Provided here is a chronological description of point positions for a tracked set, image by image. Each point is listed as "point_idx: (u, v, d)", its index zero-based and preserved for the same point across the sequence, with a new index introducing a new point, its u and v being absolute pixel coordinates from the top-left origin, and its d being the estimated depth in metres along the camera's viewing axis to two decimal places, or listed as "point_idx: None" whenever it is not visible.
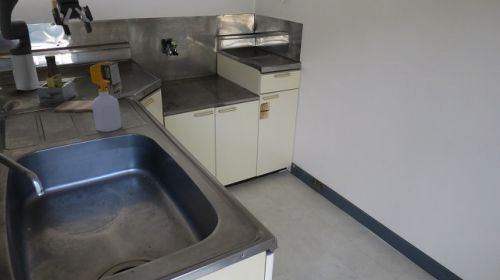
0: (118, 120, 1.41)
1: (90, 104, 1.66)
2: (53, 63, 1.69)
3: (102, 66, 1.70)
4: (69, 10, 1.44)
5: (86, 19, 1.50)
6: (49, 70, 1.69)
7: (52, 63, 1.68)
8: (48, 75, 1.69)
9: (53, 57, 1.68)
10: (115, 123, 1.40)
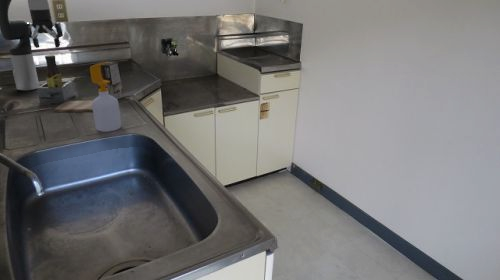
0: (118, 120, 1.41)
1: (90, 104, 1.66)
2: (53, 63, 1.69)
3: (102, 66, 1.70)
4: (37, 27, 1.61)
5: (53, 35, 1.64)
6: (49, 70, 1.69)
7: (52, 63, 1.68)
8: (48, 75, 1.69)
9: (53, 57, 1.68)
10: (115, 123, 1.40)
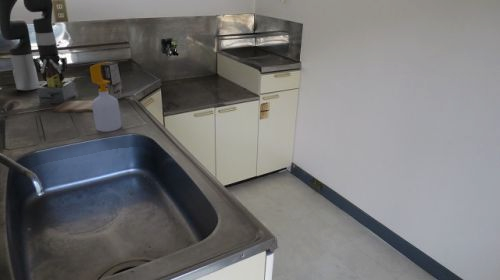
0: (118, 120, 1.41)
1: (90, 104, 1.66)
2: None
3: (102, 66, 1.70)
4: (44, 61, 1.67)
5: (58, 70, 1.70)
6: (49, 70, 1.68)
7: None
8: (48, 75, 1.69)
9: None
10: (115, 123, 1.40)
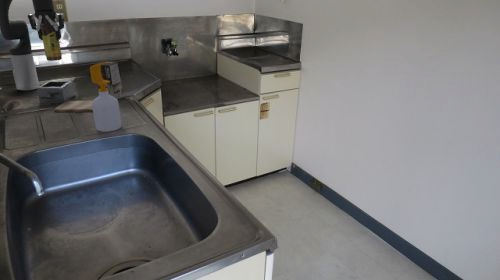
0: (118, 120, 1.41)
1: (90, 104, 1.66)
2: None
3: (102, 66, 1.70)
4: (39, 17, 1.57)
5: (55, 27, 1.60)
6: (45, 27, 1.59)
7: None
8: (44, 33, 1.59)
9: None
10: (115, 123, 1.40)
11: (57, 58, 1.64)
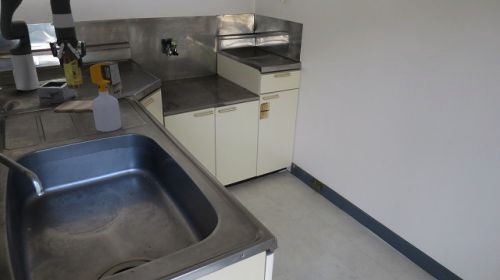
0: (118, 120, 1.41)
1: (90, 104, 1.66)
2: None
3: (102, 66, 1.70)
4: (61, 45, 1.53)
5: (77, 55, 1.56)
6: (67, 55, 1.55)
7: None
8: (66, 61, 1.55)
9: None
10: (115, 123, 1.40)
11: (78, 86, 1.60)
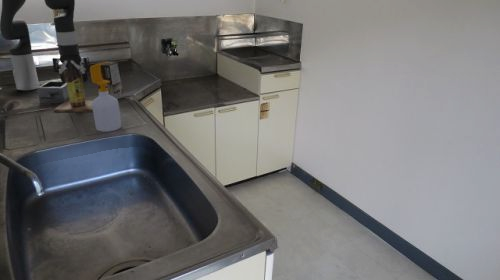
0: (118, 120, 1.41)
1: (90, 104, 1.66)
2: None
3: (102, 66, 1.70)
4: (64, 62, 1.56)
5: (81, 70, 1.58)
6: (70, 74, 1.58)
7: None
8: (69, 79, 1.58)
9: None
10: (115, 123, 1.40)
11: (81, 103, 1.63)
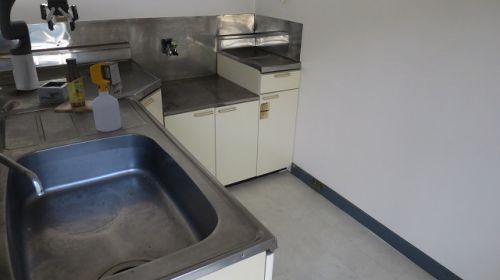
0: (118, 120, 1.41)
1: (90, 104, 1.66)
2: (74, 67, 1.58)
3: (102, 66, 1.70)
4: (52, 9, 1.55)
5: (69, 19, 1.58)
6: (70, 74, 1.58)
7: (73, 66, 1.58)
8: (69, 79, 1.58)
9: (74, 60, 1.57)
10: (115, 123, 1.40)
11: (81, 103, 1.63)
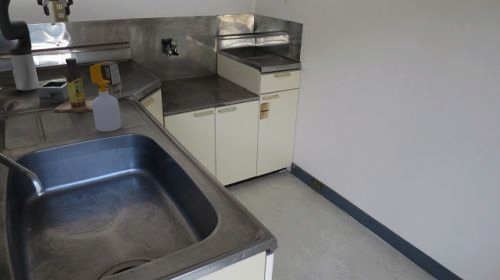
0: (118, 120, 1.41)
1: (90, 104, 1.66)
2: (74, 66, 1.58)
3: (102, 66, 1.70)
4: None
5: (64, 3, 1.65)
6: (70, 74, 1.58)
7: (73, 66, 1.58)
8: (69, 79, 1.58)
9: (74, 60, 1.57)
10: (115, 123, 1.40)
11: (81, 103, 1.63)
